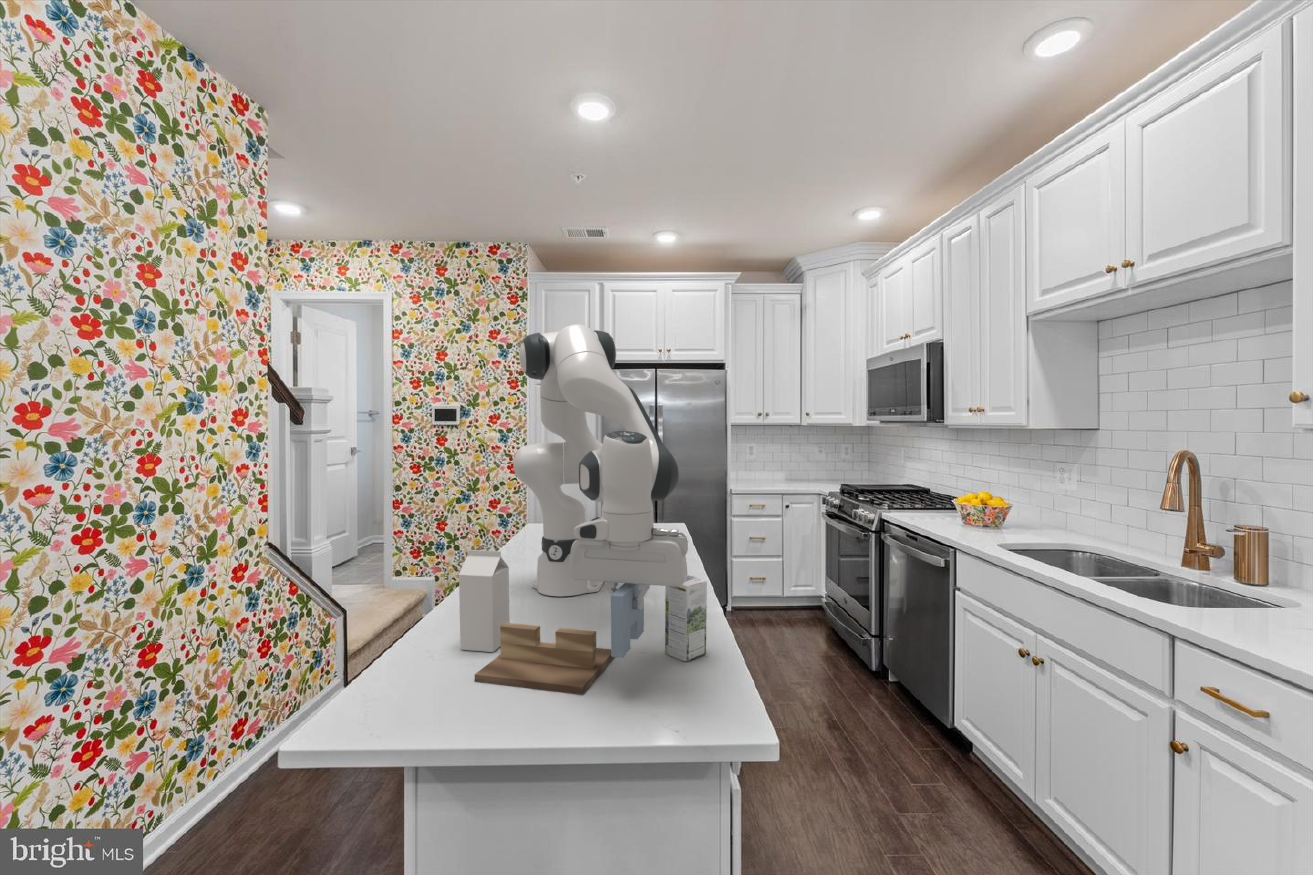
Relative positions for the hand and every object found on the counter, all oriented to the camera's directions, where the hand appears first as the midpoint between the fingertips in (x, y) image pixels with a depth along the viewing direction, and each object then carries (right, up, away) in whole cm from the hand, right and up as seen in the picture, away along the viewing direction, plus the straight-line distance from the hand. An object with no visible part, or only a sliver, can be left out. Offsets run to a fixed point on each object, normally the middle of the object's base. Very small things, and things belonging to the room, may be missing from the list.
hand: (628, 607), depth 99 cm
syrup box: (+10, -13, +12) cm, 20 cm away
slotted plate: (0, -6, 0) cm, 6 cm away
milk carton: (-30, -13, +18) cm, 37 cm away
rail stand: (-15, -13, +6) cm, 21 cm away
